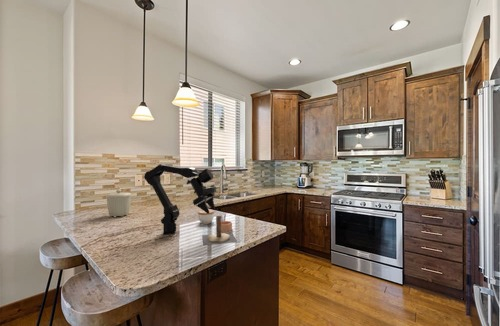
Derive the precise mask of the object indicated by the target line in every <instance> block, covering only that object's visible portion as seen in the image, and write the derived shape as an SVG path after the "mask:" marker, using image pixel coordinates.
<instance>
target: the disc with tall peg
mask: <svg viewBox="0 0 500 326" xmlns="http://www.w3.org/2000/svg"><path fill="white" fill-rule="evenodd" d="M215 217H216V218H215V221H216V222H215V225H216V226H215V227H216V229H215V230H216V231H215V232H216V233H212V235H211V234H208V235H209V236H208V241H210V242H224V241H227V240H229V239H230V235H228V234H225V233H226V232H221V221H222V215H219V214H218V215H216V216H215Z"/></svg>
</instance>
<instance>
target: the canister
mask: <svg viewBox="0 0 500 326" xmlns="http://www.w3.org/2000/svg"><path fill="white" fill-rule="evenodd" d="M115 191H116V192H111V193H108V194H106V195H105V198H106V203H107V211H108V212H107V213H108V215H109V216H110V217H111V216H122V217H125V216H124V215H126V216H128V215H127V214H129V213H130V208H131V199H132V195H133V193H130V192H122V189H116V190H115Z"/></svg>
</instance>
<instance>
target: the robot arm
mask: <svg viewBox="0 0 500 326" xmlns="http://www.w3.org/2000/svg"><path fill="white" fill-rule="evenodd" d="M165 172H166V173H170V174H175V175H180V176H181V177H185V178H186V179H187V182H186V185H191V187H192V189H193V193H194V194H196V196H197V197H195V198H194V199H193V200H192V201H193V202H192V204H193V205H194V206H196V207H198V208H199V209H201V210H204V211H205V212H206V213H209V210H210V209H209V207H210V208H211V210H213V211H215V210H216V206H215V202H214V199H215V196H216V194H215V193H216V192H217V186H216V185H215V184H212V185H210V186H209V187H207V186H206V185H203V184H206V183H208V182H210V181H211V180H213V179H214V175H213V173H212V172H211V171H210V170H209V168H205V169H203V170H202V171H199V170H197V168H195V167H178V166H174V165H167V164H162V163H161V164H158V165H157V166H155V167H154V168H152V169H150V170H149V171H146V172H144V175H143V177H144V180H145V181H146V183H147V184H148V185H150V186H151V187H152V189H153V191H154V192H155V194H156V196H157V198H158V200H159V201H160V204H161V205H162V207H163V217H162V218H161V219H160V223H161V224H162V225H163V227H162V228H163V233H162V235H168V234H169V235H170V234H175V233H176V232H177V223H176V221H177V220H178V218H179V217H180V214H181V213H180V209H179V208H178V205H177V204H173V203H172V202H171V199H169V198H170V197H169V196H168V194H167V192H166V191H165V189H164V187H163V185H162V183H161V176H162V175H163V174H164V173H165ZM208 206H209V207H208Z"/></svg>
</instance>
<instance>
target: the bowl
mask: <svg viewBox="0 0 500 326" xmlns="http://www.w3.org/2000/svg"><path fill="white" fill-rule="evenodd" d="M232 230H233V222H232V221H230V220H221V233H229V232H231V231H232Z"/></svg>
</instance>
